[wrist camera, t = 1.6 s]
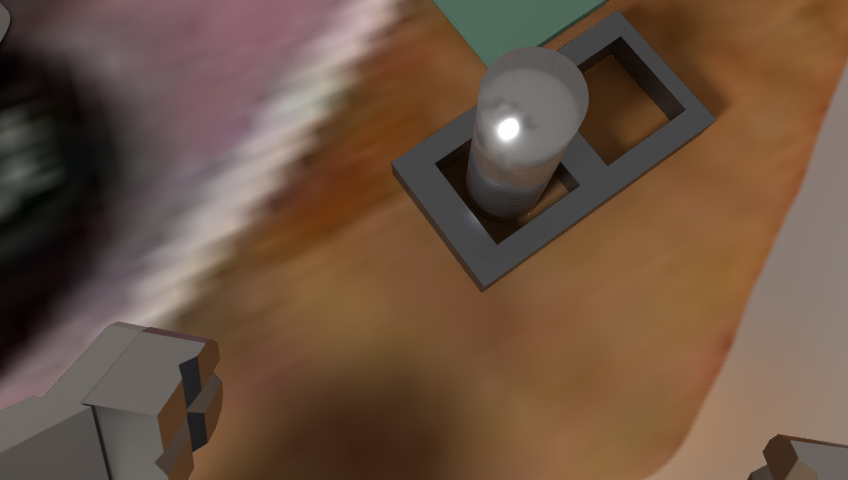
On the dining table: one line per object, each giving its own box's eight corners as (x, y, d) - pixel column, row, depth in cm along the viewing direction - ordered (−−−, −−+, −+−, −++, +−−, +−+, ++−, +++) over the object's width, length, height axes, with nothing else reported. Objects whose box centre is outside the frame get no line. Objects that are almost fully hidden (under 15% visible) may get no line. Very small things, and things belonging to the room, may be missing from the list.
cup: (450, 177, 38) (457, 84, 27) (509, 136, 39) (543, 27, 27) (495, 236, 37) (524, 167, 26) (556, 193, 38) (611, 106, 26)
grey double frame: (393, 174, 38) (391, 162, 36) (608, 28, 40) (617, 9, 39) (481, 292, 37) (484, 287, 35) (702, 133, 39) (716, 119, 37)
